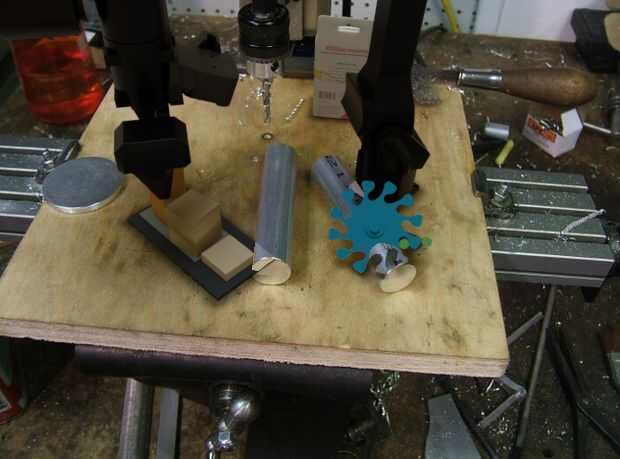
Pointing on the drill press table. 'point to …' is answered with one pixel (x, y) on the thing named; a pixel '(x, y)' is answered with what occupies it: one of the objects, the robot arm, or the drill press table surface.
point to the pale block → (194, 222)
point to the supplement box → (176, 192)
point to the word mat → (204, 254)
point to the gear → (376, 224)
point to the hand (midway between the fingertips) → (162, 170)
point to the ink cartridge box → (337, 60)
